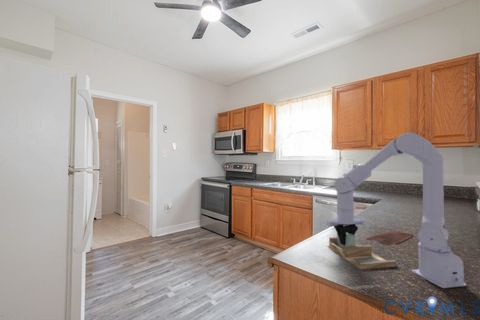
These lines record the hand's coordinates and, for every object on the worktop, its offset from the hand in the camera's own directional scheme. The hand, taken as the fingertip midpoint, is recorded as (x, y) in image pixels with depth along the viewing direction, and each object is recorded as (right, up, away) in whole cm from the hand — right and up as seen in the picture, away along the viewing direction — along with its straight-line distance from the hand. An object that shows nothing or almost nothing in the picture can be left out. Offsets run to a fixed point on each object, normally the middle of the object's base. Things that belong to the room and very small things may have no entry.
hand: (345, 244), depth 84 cm
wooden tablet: (+28, -4, +15) cm, 33 cm away
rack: (+3, -3, -4) cm, 5 cm away
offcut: (+5, -3, +3) cm, 6 cm away
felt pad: (+3, -3, -10) cm, 11 cm away
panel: (0, -3, 0) cm, 3 cm away
